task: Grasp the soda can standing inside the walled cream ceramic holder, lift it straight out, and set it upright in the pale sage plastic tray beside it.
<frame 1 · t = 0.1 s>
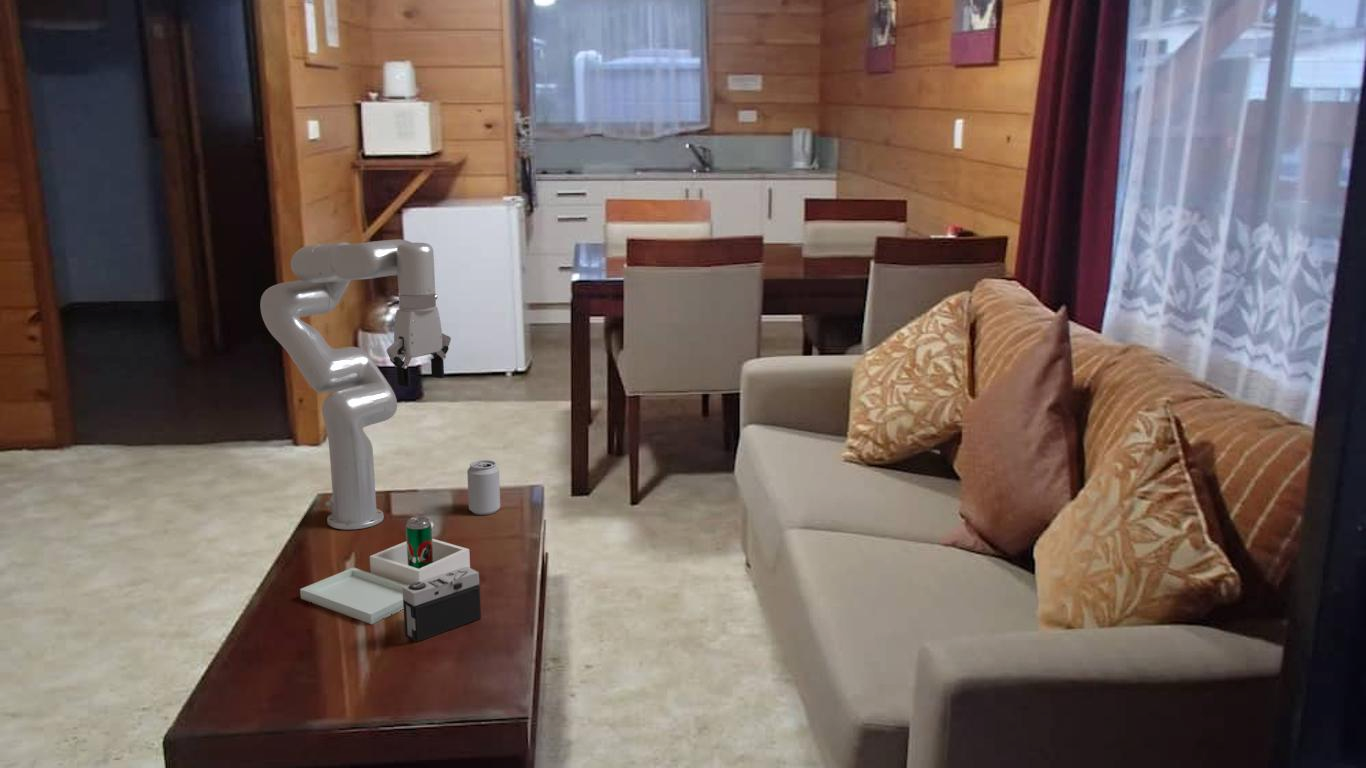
hand: (421, 381, 229), 37 cm above the table, tool pointing down, fingers open, 9 cm apart
camera: (438, 625, 199), on the table
soda can: (421, 576, 220), resting in holder
tray: (362, 599, 209), on the table
can: (484, 511, 258), on the table
holder: (421, 575, 220), on the table
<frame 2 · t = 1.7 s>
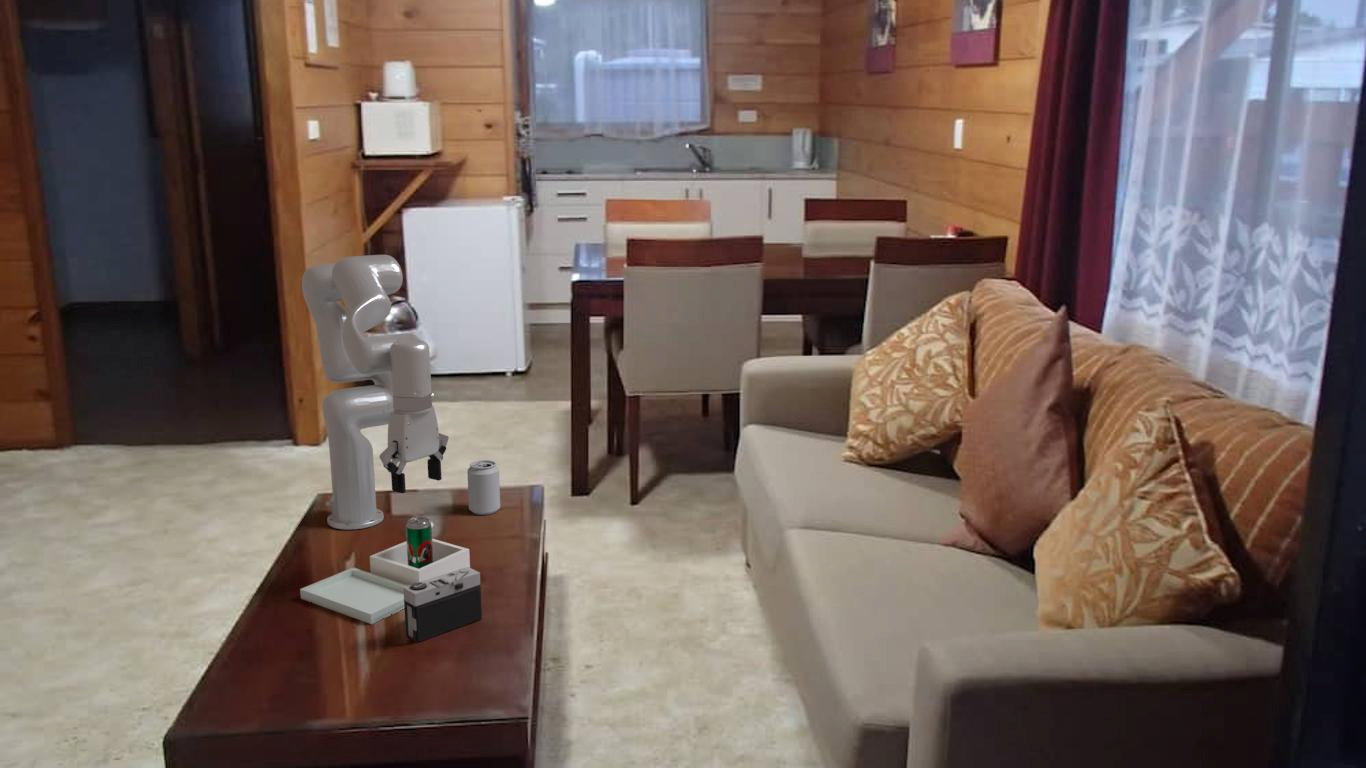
hand: (417, 485, 215), 20 cm above the table, tool pointing down, fingers open, 9 cm apart
nothing on the table moved.
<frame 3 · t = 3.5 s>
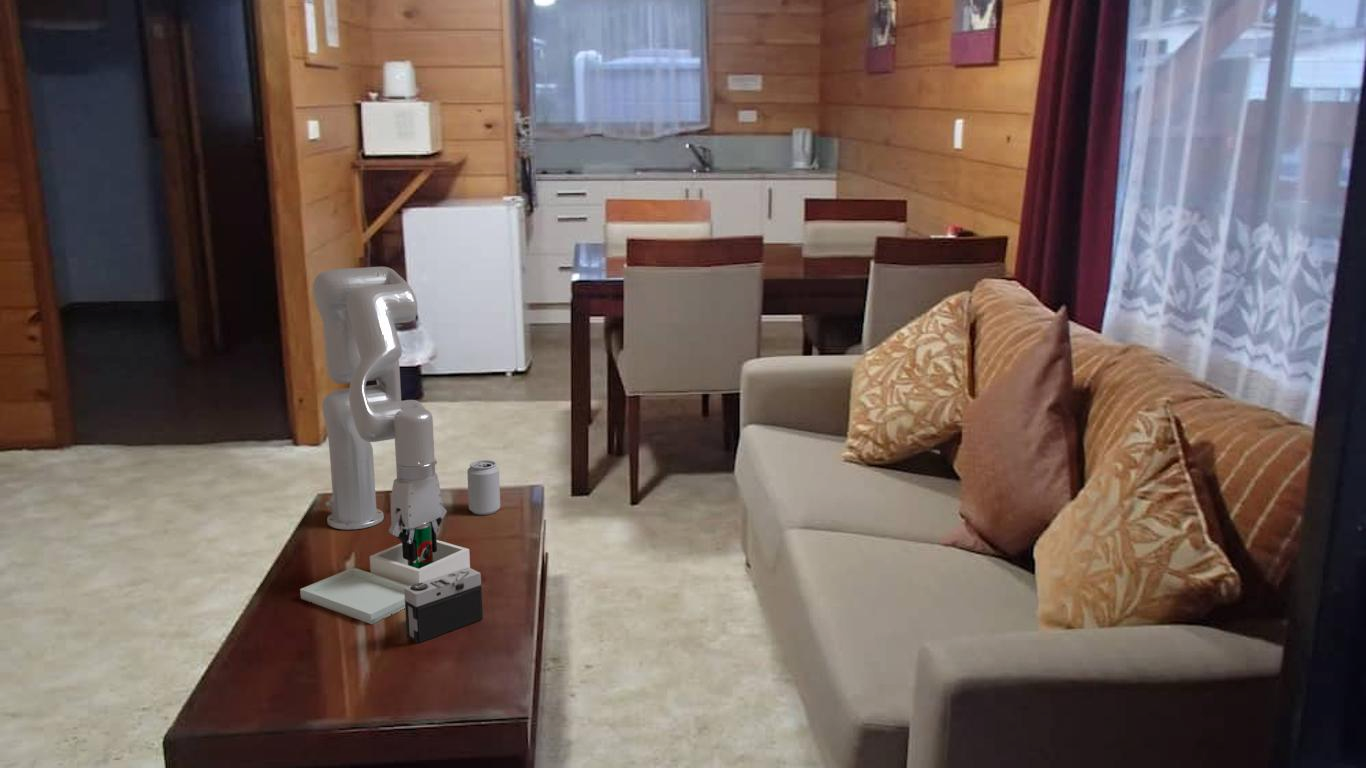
hand: (420, 554, 219), 5 cm above the table, tool pointing down, fingers closed on soda can, 5 cm apart
soda can: (421, 576, 220), resting in holder, touching gripper
everything else where it was.
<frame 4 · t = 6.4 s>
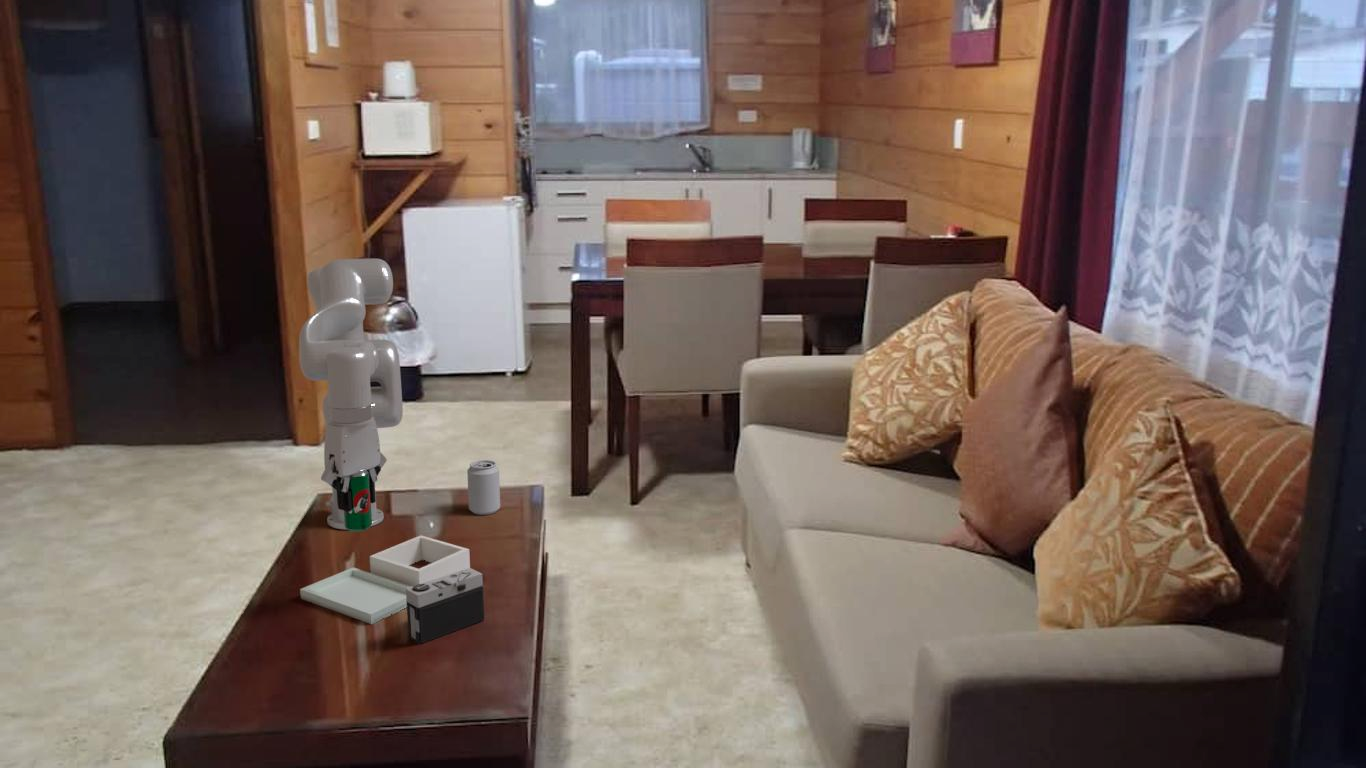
hand: (356, 504, 205), 19 cm above the table, tool pointing down, fingers closed on soda can, 5 cm apart
soda can: (358, 528, 206), point 14 cm above the table, touching gripper
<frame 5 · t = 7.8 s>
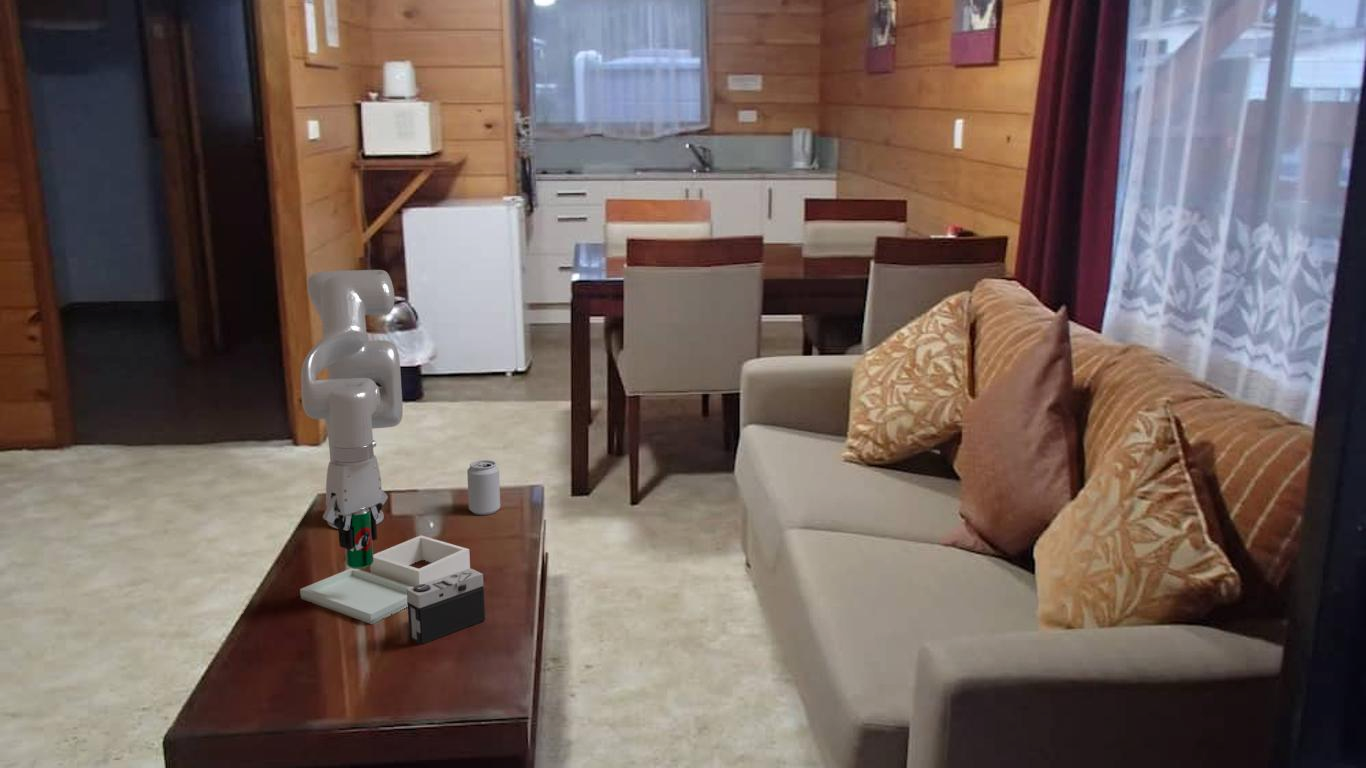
hand: (358, 542, 206), 12 cm above the table, tool pointing down, fingers closed on soda can, 5 cm apart
soda can: (360, 565, 207), point 7 cm above the table, touching gripper
when the fingers open (7 cm above the table, at t = 9.1 s): soda can drops 1 cm, resting on tray.
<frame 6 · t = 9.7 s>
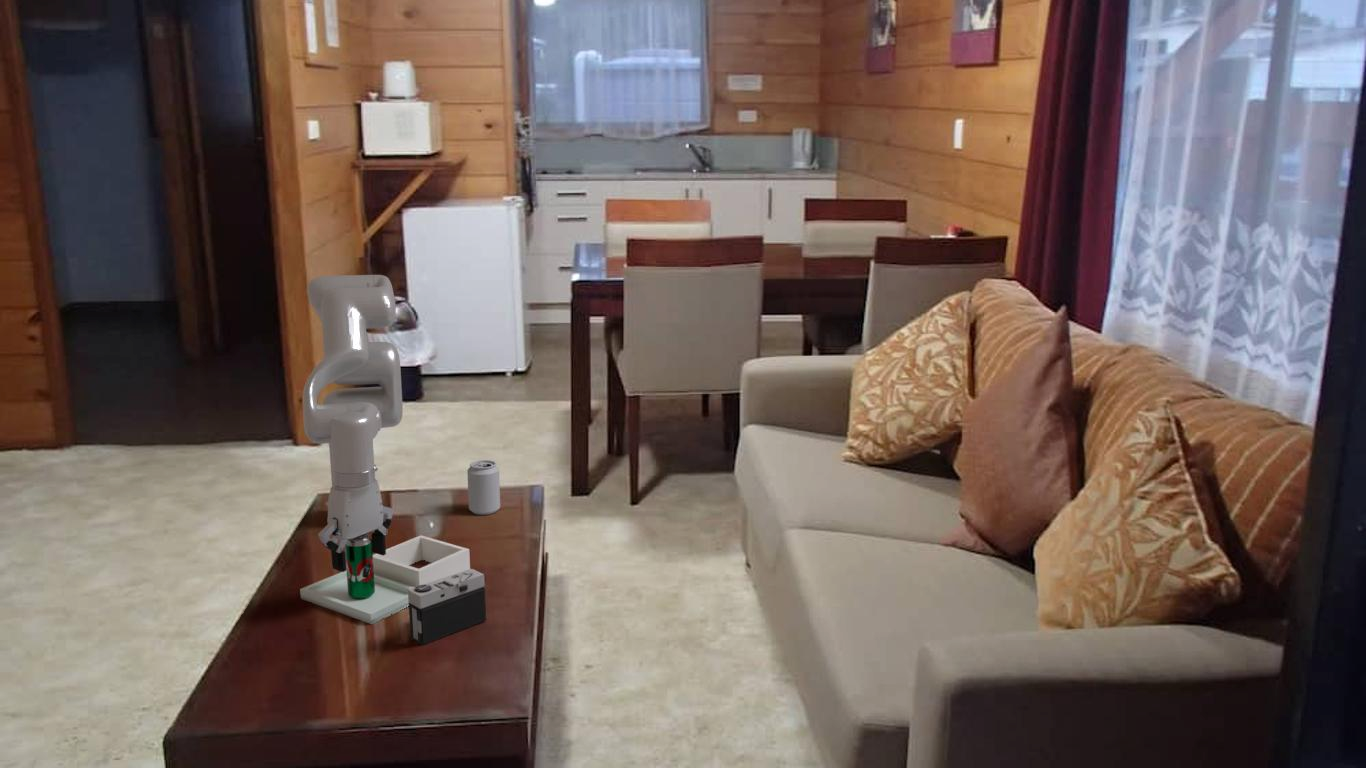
hand: (359, 561, 207), 8 cm above the table, tool pointing down, fingers open, 9 cm apart
soda can: (361, 595, 209), point 1 cm above the table, touching tray
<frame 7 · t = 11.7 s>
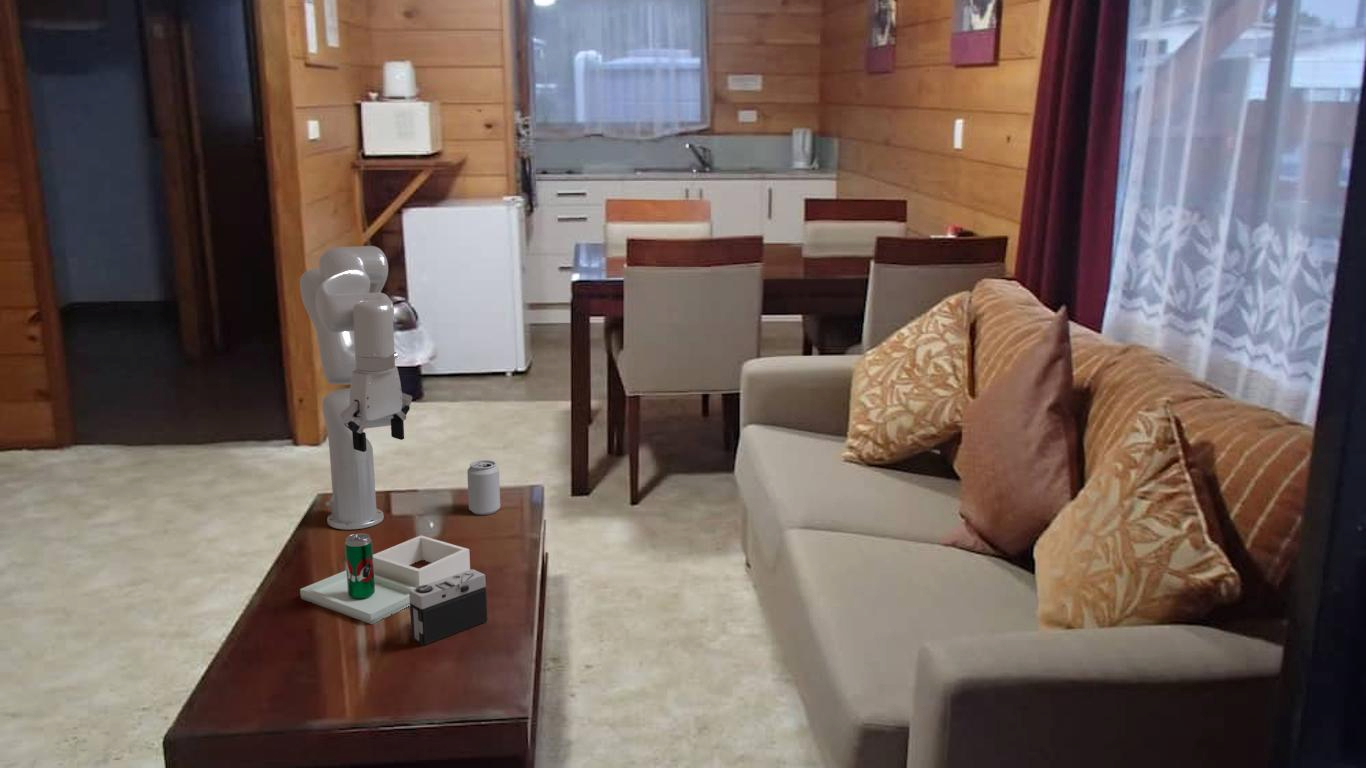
hand: (379, 444, 217), 27 cm above the table, tool pointing down, fingers open, 9 cm apart
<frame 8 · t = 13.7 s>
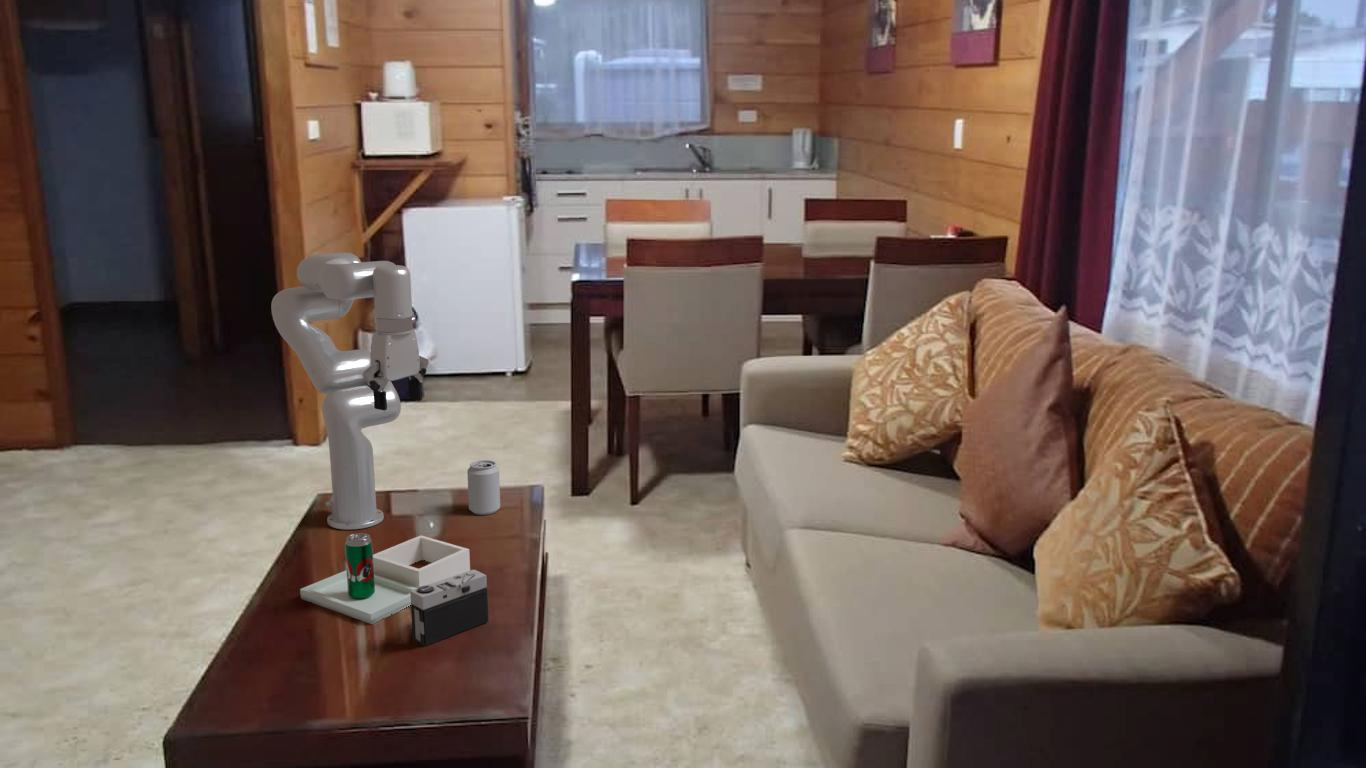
hand: (398, 404, 228), 32 cm above the table, tool pointing down, fingers open, 9 cm apart
at the end: soda can inside the target area on the tray (0.2 cm from its centre), point 0.6 cm above the tray's base; soda can tilted 0°; the gripper is holding nothing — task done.
